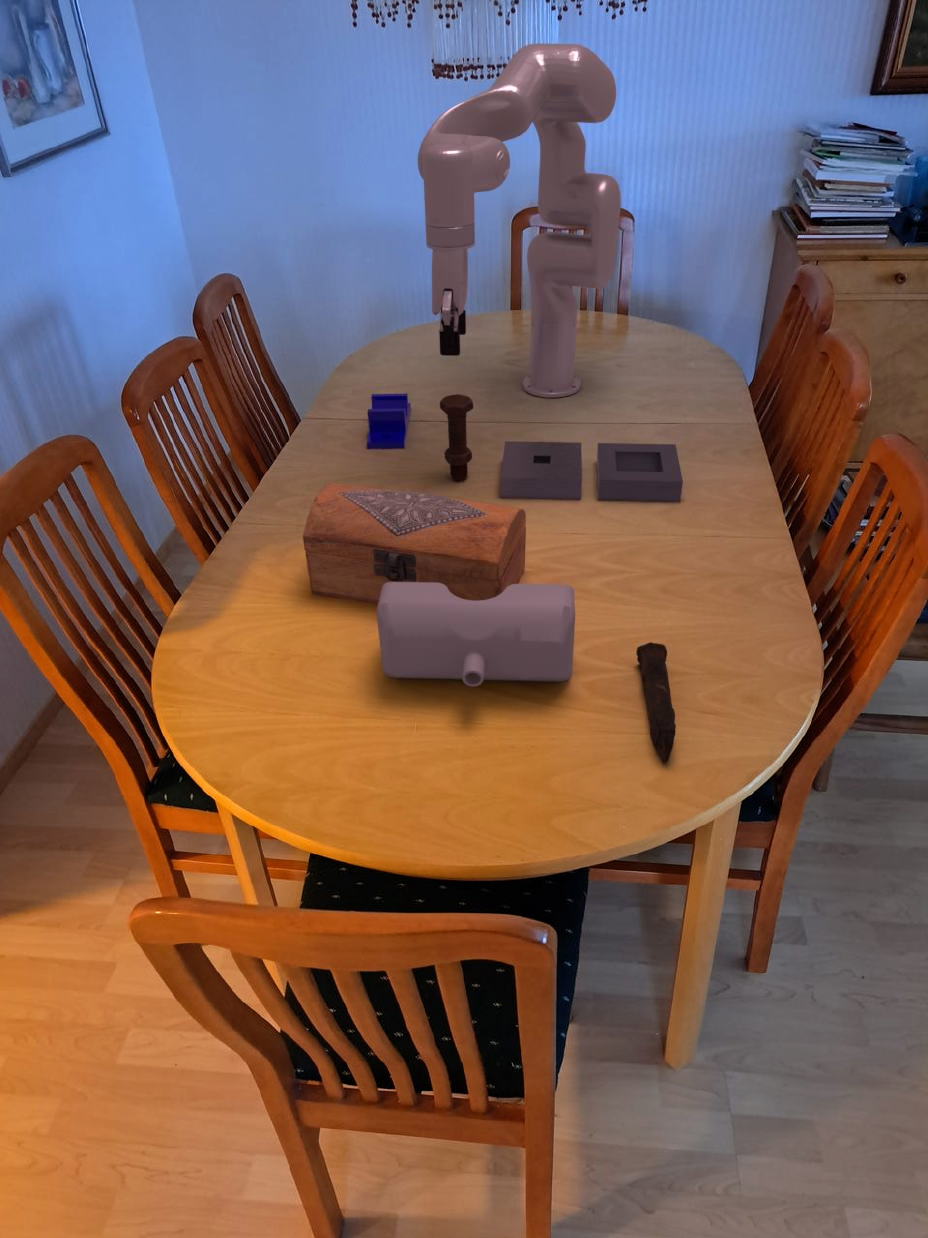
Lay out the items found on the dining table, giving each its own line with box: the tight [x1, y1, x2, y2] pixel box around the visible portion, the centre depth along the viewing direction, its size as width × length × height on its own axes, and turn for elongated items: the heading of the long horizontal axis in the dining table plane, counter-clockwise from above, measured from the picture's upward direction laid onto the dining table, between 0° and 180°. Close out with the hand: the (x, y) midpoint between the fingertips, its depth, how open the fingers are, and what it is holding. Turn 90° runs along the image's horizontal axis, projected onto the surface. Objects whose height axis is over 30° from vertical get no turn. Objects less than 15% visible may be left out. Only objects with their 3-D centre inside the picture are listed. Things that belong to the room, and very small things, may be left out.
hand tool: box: [635, 641, 677, 765], centre depth 112 cm, size 19×4×5 cm, turn 174°
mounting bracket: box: [366, 393, 412, 450], centre depth 180 cm, size 18×7×6 cm, turn 179°
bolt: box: [439, 393, 474, 482], centre depth 159 cm, size 6×5×15 cm
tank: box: [376, 582, 576, 687], centre depth 116 cm, size 25×16×12 cm, turn 86°
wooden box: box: [302, 482, 527, 605], centre depth 133 cm, size 30×16×14 cm, turn 72°
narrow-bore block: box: [499, 440, 583, 501], centre depth 161 cm, size 14×14×4 cm
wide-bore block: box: [595, 442, 684, 503], centre depth 160 cm, size 14×14×4 cm
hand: (453, 344), depth 149 cm, fingers open, 9 cm apart
